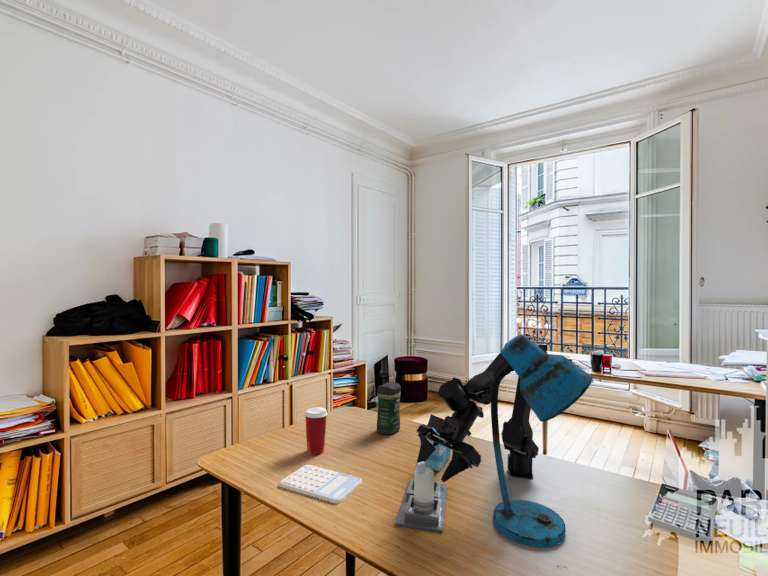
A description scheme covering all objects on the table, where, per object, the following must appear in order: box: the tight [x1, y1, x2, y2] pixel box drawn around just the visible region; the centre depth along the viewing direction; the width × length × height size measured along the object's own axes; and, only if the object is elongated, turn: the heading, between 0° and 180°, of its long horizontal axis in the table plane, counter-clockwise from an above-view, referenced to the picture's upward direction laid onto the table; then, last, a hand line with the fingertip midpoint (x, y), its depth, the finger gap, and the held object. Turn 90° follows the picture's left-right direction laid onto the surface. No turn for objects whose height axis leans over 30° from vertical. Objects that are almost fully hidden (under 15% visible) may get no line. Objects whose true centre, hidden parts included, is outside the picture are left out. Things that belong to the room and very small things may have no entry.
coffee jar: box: [376, 381, 402, 435], centre depth 153 cm, size 10×8×19 cm
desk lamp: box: [490, 333, 594, 548], centre depth 92 cm, size 16×22×45 cm
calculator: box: [278, 464, 363, 505], centre depth 111 cm, size 13×20×2 cm, turn 64°
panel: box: [394, 477, 449, 533], centre depth 101 cm, size 11×21×2 cm, turn 167°
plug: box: [413, 461, 435, 515], centre depth 96 cm, size 5×5×12 cm
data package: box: [425, 427, 451, 472], centre depth 125 cm, size 12×4×12 cm, turn 153°
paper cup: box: [304, 406, 328, 456], centre depth 133 cm, size 8×8×14 cm
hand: (429, 473), depth 97 cm, fingers open, 9 cm apart
